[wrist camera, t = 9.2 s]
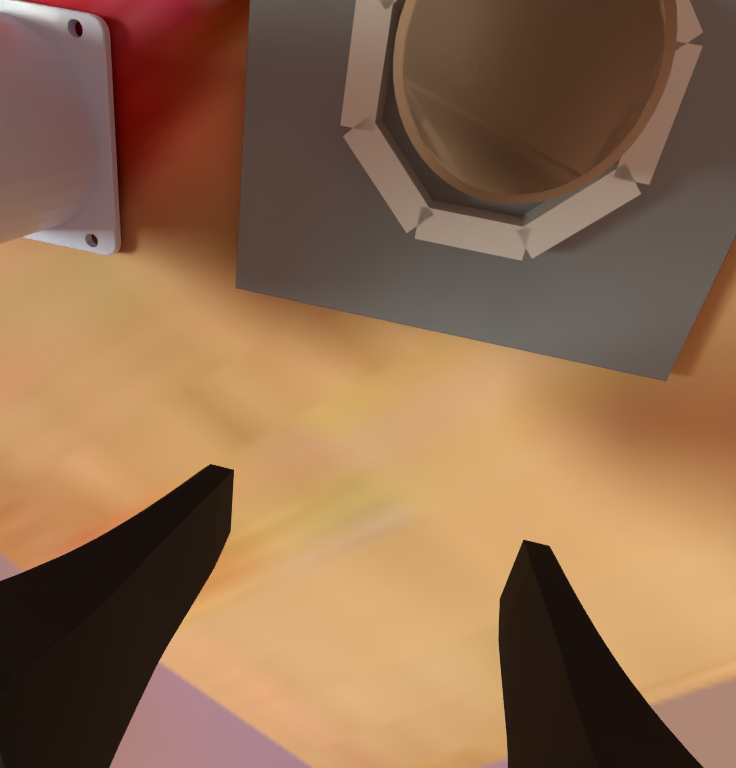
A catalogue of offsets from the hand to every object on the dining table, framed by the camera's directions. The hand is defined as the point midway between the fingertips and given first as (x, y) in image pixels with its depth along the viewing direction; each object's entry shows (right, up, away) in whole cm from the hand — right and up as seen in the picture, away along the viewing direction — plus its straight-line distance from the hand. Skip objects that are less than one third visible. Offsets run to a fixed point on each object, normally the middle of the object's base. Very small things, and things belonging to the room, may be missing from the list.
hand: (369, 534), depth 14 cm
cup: (+4, +13, +3) cm, 14 cm away
